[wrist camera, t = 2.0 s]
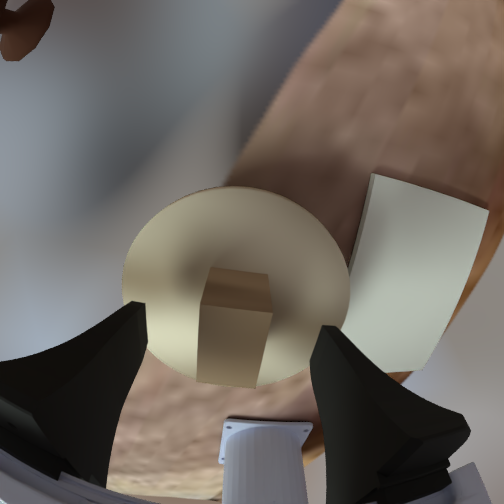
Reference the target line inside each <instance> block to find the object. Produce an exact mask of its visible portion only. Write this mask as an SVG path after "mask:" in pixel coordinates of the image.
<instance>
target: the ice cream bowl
mask: <svg viewBox="0 0 504 504" xmlns="http://www.w3.org/2000/svg"><path fill="white" fill-rule="evenodd" d="M7 1H8V0H0V34H2V38H1V42H0V51H1V54H2V56H3V59H5V60H6V61H20V60H21V59H22V58H23V57H25V56H26V55H27V54H28V53H30V52H31V51H32V50H33V49H35V48H36V46H37V45H38V43H39V41H40V40H41V38H42V37H43V35H44V34H45V32H46V31H47V30H48V28H49V26H50V22H51V19H52V15H53V11H54V8H55V7H54V5H53V3H52V2H51V0H28V1H27V2H26V3H25V4H23V5H22V6H21V7H20V8H19V9H17V10H16V11H11V10H8V9H5V6H6V3H7Z"/></svg>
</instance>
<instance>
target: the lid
mask: <svg viewBox="0 0 504 504" xmlns="http://www.w3.org/2000/svg"><path fill="white" fill-rule="evenodd" d="M122 295H123V301H124V305H126V304H127V303H129V302H131V301H136V302H142V303H146V320H147V333H148V344H147V348H148V349H149V350H150V351H151V352H152V353H153V354H154V355H155V356H156V357H157V358H158V359H159V360H161V361H162V362H163V363H164V364H166V365H167V366H169V367H170V368H172V369H174V370H175V371H177V372H179V373H181V374H183V375H185V376H187V377H190V378H192V379H195V380H196V382H201V383H208V384H212V385H218V386H225V387H242V388H254V389H255V388H256V386H261V385H265V384H270V383H274V382H277V381H280V380H283V379H286V378H288V377H290V376H292V375H295V374H297V373H298V372H300V371H302V370H303V369H305V368H307V367H308V366H310V362H309V361H310V358H311V355H312V352H313V349H314V347H315V344H316V341H317V338H318V335H319V332H320V329H321V326H322V325H331V326H336V327H338V328H339V329H340V330H341V328H342V326H343V324H344V322H345V319H346V316H347V312H348V308H349V302H350V279H349V274H348V268H347V265H346V262H345V260H344V257H343V254H342V252H341V251H340V249H339V247H338V245H337V243H336V241H335V240H334V239H333V237H332V236H331V235H330V233H329V232H328V231H327V230H326V228H325V227H324V226H323V225H322V224H321V223H320V222H319V221H318V220H317V219H316V218H315V217H314V216H313V215H312V214H311V213H310V212H308V211H307V210H306V209H304V208H303V207H302V206H300V205H299V204H297V203H295V202H293V201H292V200H290V199H288V198H286V197H284V196H281V195H279V194H276V193H273V192H270V191H267V190H263V189H258V188H253V187H243V186H224V187H214V188H210V189H205V190H201V191H198V192H195V193H192V194H189V195H187V196H184V197H182V198H180V199H178V200H177V201H175V202H173V203H171V204H170V205H168V206H167V207H166V208H164V209H163V210H162V211H160V212H159V213H158V214H157V215H155V216H154V217H153V218H152V219H151V220H150V221H149V222H148V223H147V224H146V225H145V227H143V228H142V230H141V231H140V233H139V234H138V235H137V237H136V238H135V240H134V241H133V244H132V246H131V248H130V250H129V252H128V254H127V258H126V261H125V264H124V269H123V275H122Z"/></svg>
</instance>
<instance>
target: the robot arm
mask: <svg viewBox="0 0 504 504" xmlns="http://www.w3.org/2000/svg"><path fill="white" fill-rule="evenodd" d="M147 344H148V333H147V320H146V303H142V302H136V301H131V302H129V303H127V304H126V305H124V306H123V307H122V308H120V309H119V310H117V311H116V312H114V313H113V314H112V315H110V316H109V317H107V318H106V319H104V320H103V321H101V322H100V323H98V324H97V325H95V326H94V327H92V328H90V329H88V330H87V331H85V332H84V333H82V334H80V335H78V336H77V337H75V338H73V339H71V340H69V341H67V342H65V343H63V344H60V345H58V346H56V347H53V348H50V349H48V350H45V351H42V352H40V353H37V354H33V355H30V356H27V357H22V358H18V359H13V360H8V361H1V362H0V501H1V502H3V503H4V504H159V503H155V502H151V501H146V500H142V499H138V498H135V497H131V496H128V495H124V494H121V493H117V492H114V491H111V490H108V489H106V483H107V475H108V468H109V461H110V456H111V451H112V445H113V441H114V437H115V432H116V428H117V424H118V421H119V417H120V414H121V410H122V407H123V405H124V402H125V400H126V397H127V395H128V393H129V390H130V388H131V386H132V384H133V381H134V379H135V377H136V375H137V372H138V370H139V368H140V366H141V363H142V361H143V358H144V354H145V351H146V348H147ZM309 362H310V373H311V381H312V386H313V390H314V394H315V398H316V402H317V406H318V411H319V415H320V419H321V423H322V428H323V435H324V445H325V455H326V456H325V457H326V485H327V489H326V491H327V492H326V504H491V500H490V498H489V496H488V493H487V491H486V488H485V486H484V483H483V481H482V479H481V477H480V474H479V472H478V470H477V468H476V465H475V463H474V462H471V463H469V464H467V465H465V466H462V467H460V468H458V469H456V470H454V471H452V472H451V473H448V471H447V469H446V468H448V467H449V466H450V462H449V460H448V458H449V457H450V456H451V455H452V454H453V453H454V452H456V451H457V450H458V449H459V448H460V447H461V446H462V445H463V444H464V443H465V441H466V440H467V439H468V437H469V435H470V432H471V430H470V428H469V426H468V424H467V422H466V420H465V418H464V416H463V415H462V414H460V413H457V412H454V411H451V410H448V409H446V408H443V407H440V406H438V405H436V404H434V403H432V402H429V401H427V400H425V399H424V398H421V397H420V396H418V395H416V394H415V393H413V392H411V391H410V390H408V389H406V388H405V387H403V386H402V385H400V384H399V383H398V382H396V381H395V380H393V379H392V378H391V377H389V376H388V375H387V374H386V373H384V372H383V371H382V370H381V369H380V368H379V367H377V366H376V365H375V364H374V363H373V362H372V361H371V360H370V359H369V358H367V357H366V356H365V355H364V354H363V353H362V352H361V351H360V350H359V349H358V348H357V347H356V346H355V345H354V344H353V343H352V342H351V340H350V339H349V338H348V337H347V336H346V335H345V334H344V333H343V332H342V331H341V330H340V329H339V328H338V327H336V326H331V325H322V326H321V329H320V332H319V335H318V338H317V341H316V344H315V347H314V349H313V352H312V355H311V358H310V361H309ZM312 428H313V424H312V423H311V422H270V421H252V420H239V419H226V420H224V425H223V432H222V439H221V446H220V453H219V460H218V462H219V463H220V464H224V475H223V493H222V504H308V498H307V490H306V482H305V474H304V467H303V459H302V452H301V447H302V445H303V444H304V442H305V440H306V439H307V437H308V435H309V433H310V432H311V430H312Z"/></svg>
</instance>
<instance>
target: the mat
mask: <svg viewBox="0 0 504 504" xmlns="http://www.w3.org/2000/svg"><path fill="white" fill-rule="evenodd" d="M488 214H489V211H488V210H486V209H483V208H481V207H478V206H476V205H473V204H470V203H468V202H465V201H462V200H459V199H457V198H454V197H451V196H448V195H445V194H442V193H439V192H436V191H433V190H430V189H427V188H423V187H420V186H417V185H414V184H410V183H407V182H403V181H400V180H396V179H393V178H389V177H385V176H382V175H378V174H374V173H371V177H370V181H369V186H368V191H367V196H366V200H365V204H364V209H363V213H362V217H361V221H360V225H359V229H358V233H357V237H356V241H355V245H354V249H353V252H352V256H351V259H350V263H349V266H348V274H349V279H350V302H349V308H348V312H347V316H346V319H345V322H344V324H343V326H342V328H341V331H342V332H343V333H344V334H345V335H346V336H347V337H348V338H349V339H350V340H351V342H352V343H353V344H354V345H355V346H356V347H357V348H358V349H359V350H360V351H361V352H362V353H363V354H364V355H365V356H366V357H367V358H369V359H370V360H371V361H372V362H373V363H374V364H375V365H376V366H377V367H379V368H380V369H381V370H382V371H383V372H384V373H387V372H403V371H416V370H423V368H424V366H425V365H426V363H427V361H428V360H429V358H430V356H431V354H432V353H433V351H434V349H435V347H436V345H437V344H438V342H439V340H440V338H441V336H442V334H443V332H444V330H445V328H446V326H447V324H448V322H449V320H450V318H451V316H452V314H453V312H454V309H455V307H456V305H457V303H458V301H459V298H460V296H461V294H462V291H463V289H464V286H465V284H466V281H467V279H468V276H469V274H470V271H471V268H472V266H473V263H474V260H475V257H476V254H477V251H478V248H479V245H480V242H481V239H482V235H483V232H484V229H485V225H486V221H487V218H488Z"/></svg>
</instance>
